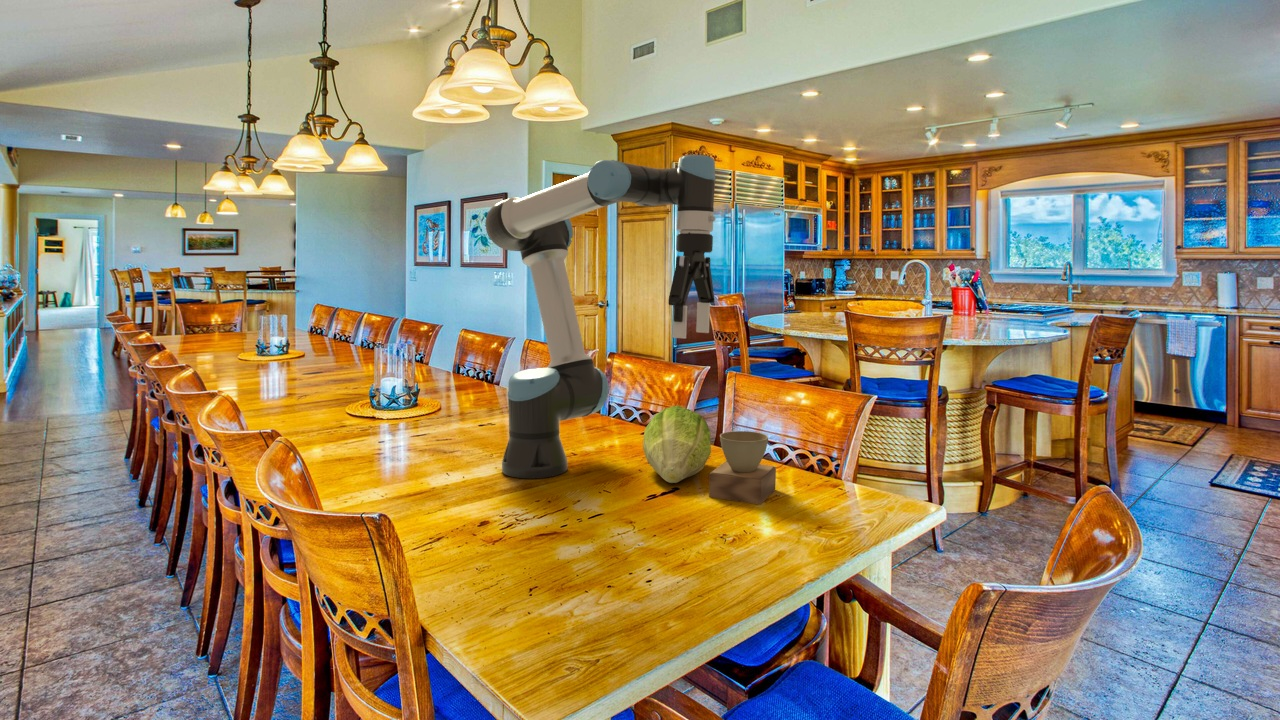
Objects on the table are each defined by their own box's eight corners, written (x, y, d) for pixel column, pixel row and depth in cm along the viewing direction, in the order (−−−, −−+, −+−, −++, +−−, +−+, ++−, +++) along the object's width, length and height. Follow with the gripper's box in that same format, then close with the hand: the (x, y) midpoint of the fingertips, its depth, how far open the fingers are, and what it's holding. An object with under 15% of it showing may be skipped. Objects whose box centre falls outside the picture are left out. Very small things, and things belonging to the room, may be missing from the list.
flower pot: (767, 464, 150) (768, 431, 149) (766, 477, 141) (767, 442, 140) (721, 461, 152) (722, 429, 151) (717, 474, 143) (717, 440, 142)
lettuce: (710, 509, 151) (639, 513, 155) (716, 445, 173) (653, 450, 176) (700, 453, 145) (626, 458, 148) (707, 394, 166) (642, 400, 170)
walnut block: (709, 496, 145) (709, 472, 144) (726, 482, 154) (726, 459, 154) (760, 504, 140) (761, 479, 139) (775, 489, 150) (775, 465, 149)
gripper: (689, 230, 132) (686, 341, 135) (730, 235, 154) (727, 331, 157) (653, 230, 135) (650, 339, 138) (698, 235, 157) (695, 329, 160)
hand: (691, 335), depth 148 cm, fingers open, 13 cm apart
